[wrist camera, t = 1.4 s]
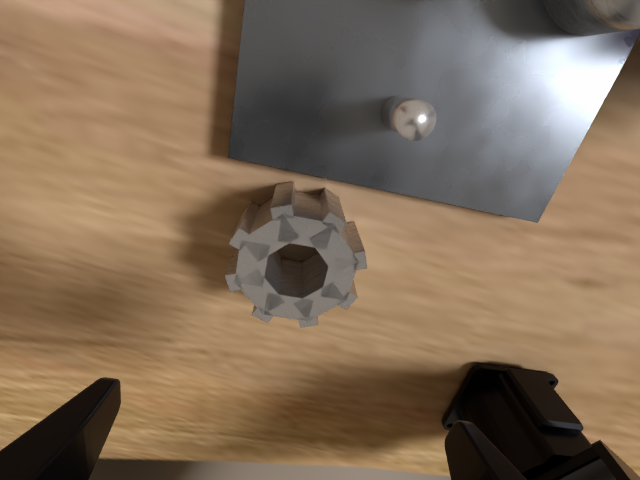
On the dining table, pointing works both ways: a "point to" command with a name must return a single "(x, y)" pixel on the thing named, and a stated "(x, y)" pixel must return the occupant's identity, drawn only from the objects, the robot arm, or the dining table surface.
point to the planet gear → (291, 276)
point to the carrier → (428, 93)
